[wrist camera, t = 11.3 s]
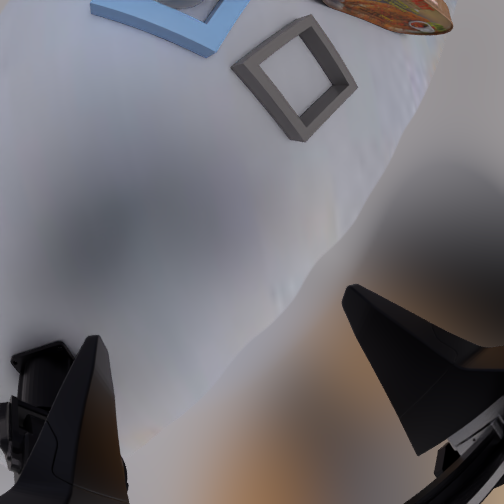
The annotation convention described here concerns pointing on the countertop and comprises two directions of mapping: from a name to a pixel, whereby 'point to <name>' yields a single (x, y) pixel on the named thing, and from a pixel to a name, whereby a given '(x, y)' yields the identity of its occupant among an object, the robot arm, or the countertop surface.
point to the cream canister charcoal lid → (180, 3)
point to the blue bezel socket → (174, 21)
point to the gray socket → (271, 95)
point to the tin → (400, 14)
